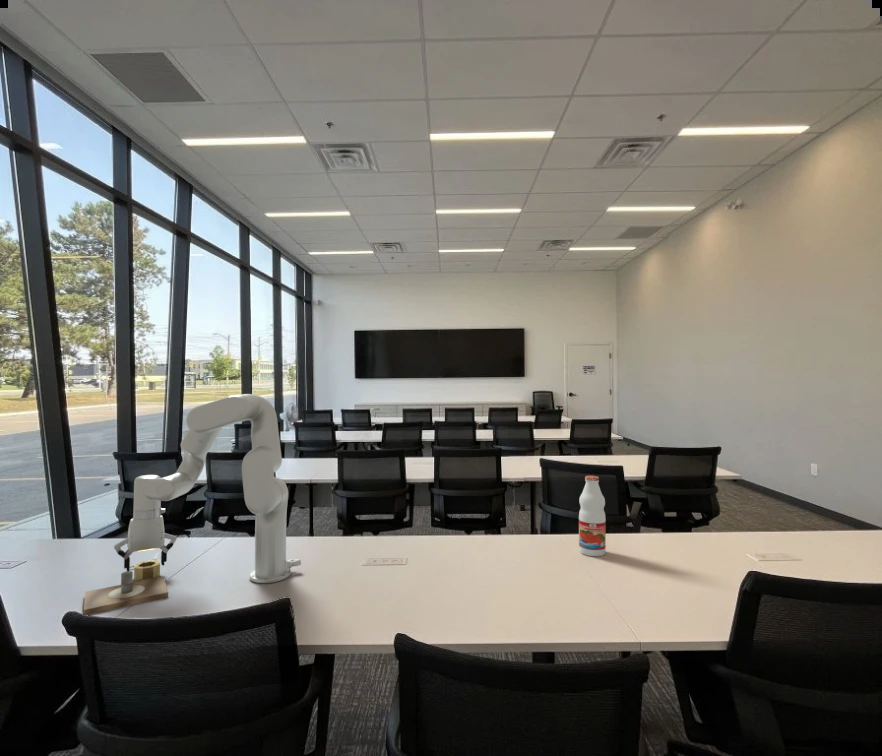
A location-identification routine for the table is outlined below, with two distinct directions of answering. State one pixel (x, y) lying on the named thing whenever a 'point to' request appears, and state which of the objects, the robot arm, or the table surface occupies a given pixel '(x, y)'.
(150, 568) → the ring
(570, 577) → the table surface
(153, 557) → the scissors
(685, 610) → the table surface
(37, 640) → the table surface
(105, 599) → the post plate
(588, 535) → the fruit juice
